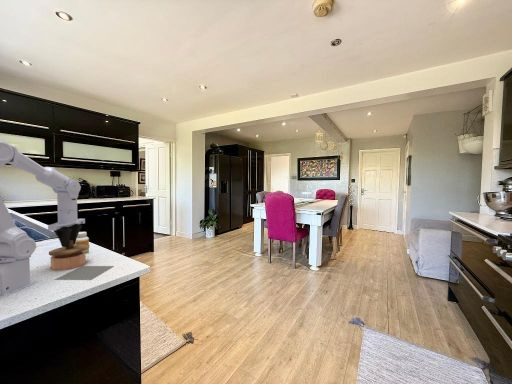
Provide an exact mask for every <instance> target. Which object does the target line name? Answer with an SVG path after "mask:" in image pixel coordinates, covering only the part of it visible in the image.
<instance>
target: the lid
mask: <svg viewBox="0 0 512 384" xmlns="http://www.w3.org/2000/svg"><path fill="white" fill-rule="evenodd" d="M88 248H89V249H90V243H89V244H78V245H74V243H73V240H70V242H69V246H68V247H62V246H61V247H57V248H55V249H52V250H50V251H48V255H49V256H50V257H52V256H58V255H66V254H71V253H76V252H80V251H83V250H86V249H88Z"/></svg>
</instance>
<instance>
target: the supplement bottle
mask: <svg viewBox="0 0 512 384" xmlns="http://www.w3.org/2000/svg"><path fill="white" fill-rule="evenodd" d="M87 235H88V234H87V231H79V233H78V236H77V239H76V242H75V244H74V245H78V244H89V245H90V238H89V237H88V236H87ZM83 251H85V252H86V255H87V254H89V253H90V247H89V248H88V249H86V250H83Z"/></svg>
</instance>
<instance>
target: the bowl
mask: <svg viewBox="0 0 512 384" xmlns="http://www.w3.org/2000/svg"><path fill="white" fill-rule="evenodd" d="M86 255H87V254H86V252H85V251H80V252H76V253H71V254H66V255H58V256H50V269H51V270H53V271H63V270H70V269H76V268H79V267H81V266H84V265H85V264H86V262H87V259H86V257H87V256H86Z"/></svg>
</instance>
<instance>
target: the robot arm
mask: <svg viewBox="0 0 512 384" xmlns="http://www.w3.org/2000/svg"><path fill="white" fill-rule="evenodd" d="M6 164H9V165H12V166H14V167H15V168H18V169H21V170H22V171H25V172H27V173H29V174H31V175H34V176H35V177H34V178H35V180H36V181H37V182H40V183H41V184H43V185H46V186H47V187H49V188H52V191H53V192H54V193H56V195H57V197H56V200H57V202H56V203H57V222H55V223H52V224H47V231H49V232H52V231H53V233H54V234H55V235H56V236H57V238H58V240H59V242H60V245H61V247H68V246H69V242H70V240H73V243H74V244H75V242H76V239H77V236H78V233H79V232H81V230H82V228H83V226H82V225H81V224H86V218H78V197H79V193H80V191H81V190H82V189H81V188H82V186H81V185H80V182H79V181H77V179H75V178H69V177H68V176H67V175H66V174H63V173H61V172H59V171H57V169H56V168H55V167H52V166H51V167H50V166H44V167H43V166H42V165H40V164H39V163H38V162H36V161H34V160H33V159H31V158H30V157H29V156H27V155H25V154H24V153H22V152H21V151H19V150H18V148H17V146H14V145H12V144H10V143H9V142H6V141H5V140H1V139H0V169H1V168H2V167H4V166H5V165H6ZM3 200H4V199H2V197H1V195H0V297H1V296H2V297H6V296H7V297H8V296H9V295H12V294H14V293H16V292H18V291H21V290H22V289H26V288H27V287H29V286H31V285H33V284H36V283H38V282H39V280H38V279H37V280H31V269H30V266H31V265H30V258H31V257H32V255H33V253H34V252H35V251H36V249H37V244H36V240H35V239H33V238H32V237H30V235H28V233H27V232H26V231H25V230H23V229H21V228H19V227H18V226H17V225H16V224H15V222H14V219H13V218H12V216H11V214H10V212H9V210H8V207H7V206H6V204H5V202H4V201H3Z"/></svg>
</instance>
